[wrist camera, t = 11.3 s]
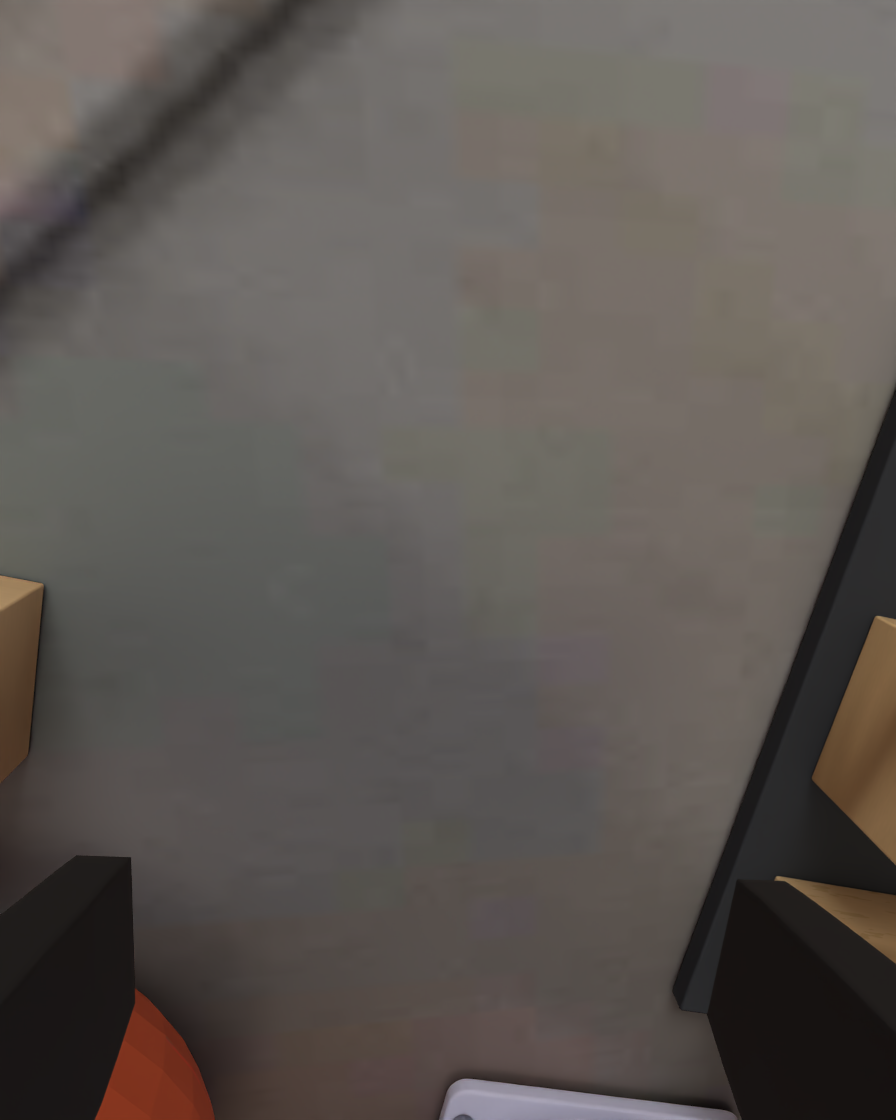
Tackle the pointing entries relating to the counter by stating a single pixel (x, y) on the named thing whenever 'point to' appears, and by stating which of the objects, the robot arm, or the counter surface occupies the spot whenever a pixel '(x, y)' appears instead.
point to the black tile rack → (810, 737)
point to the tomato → (154, 1073)
